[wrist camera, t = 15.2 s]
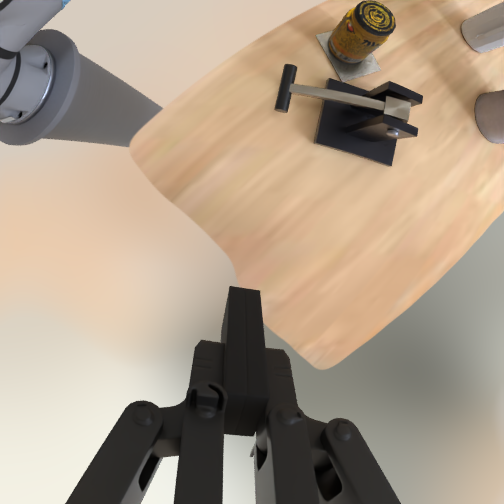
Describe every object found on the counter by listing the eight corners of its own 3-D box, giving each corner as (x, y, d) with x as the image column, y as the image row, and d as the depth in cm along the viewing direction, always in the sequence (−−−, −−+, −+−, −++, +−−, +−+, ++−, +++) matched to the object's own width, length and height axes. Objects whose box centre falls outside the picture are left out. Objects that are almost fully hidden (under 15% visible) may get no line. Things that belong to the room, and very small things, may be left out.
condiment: (354, 25, 36) (384, -9, 24) (380, 70, 38) (418, 47, 26) (314, 35, 36) (336, -1, 25) (341, 83, 39) (373, 58, 27)
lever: (277, 112, 35) (271, 107, 32) (287, 69, 33) (282, 61, 31) (402, 140, 30) (405, 136, 28) (410, 94, 29) (413, 87, 26)
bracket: (313, 143, 41) (344, 134, 28) (326, 80, 38) (359, 48, 25) (387, 166, 42) (439, 169, 29) (399, 105, 39) (450, 90, 26)
